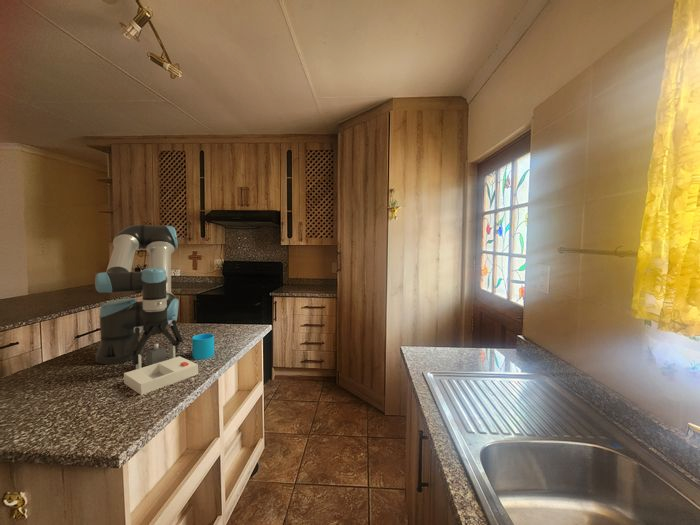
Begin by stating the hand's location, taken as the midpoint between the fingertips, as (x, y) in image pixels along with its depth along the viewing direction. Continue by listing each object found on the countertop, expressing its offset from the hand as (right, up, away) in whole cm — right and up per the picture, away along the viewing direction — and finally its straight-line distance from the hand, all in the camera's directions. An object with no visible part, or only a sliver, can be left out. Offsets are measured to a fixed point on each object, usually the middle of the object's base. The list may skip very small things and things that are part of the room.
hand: (156, 366), depth 110 cm
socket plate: (+8, -1, -9) cm, 12 cm away
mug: (+11, 0, +14) cm, 18 cm away
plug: (0, 0, 0) cm, 0 cm away
